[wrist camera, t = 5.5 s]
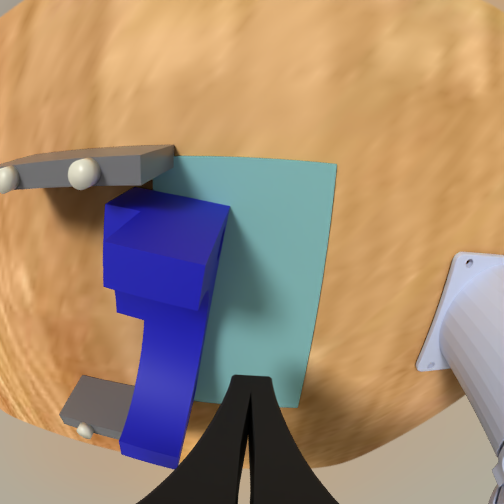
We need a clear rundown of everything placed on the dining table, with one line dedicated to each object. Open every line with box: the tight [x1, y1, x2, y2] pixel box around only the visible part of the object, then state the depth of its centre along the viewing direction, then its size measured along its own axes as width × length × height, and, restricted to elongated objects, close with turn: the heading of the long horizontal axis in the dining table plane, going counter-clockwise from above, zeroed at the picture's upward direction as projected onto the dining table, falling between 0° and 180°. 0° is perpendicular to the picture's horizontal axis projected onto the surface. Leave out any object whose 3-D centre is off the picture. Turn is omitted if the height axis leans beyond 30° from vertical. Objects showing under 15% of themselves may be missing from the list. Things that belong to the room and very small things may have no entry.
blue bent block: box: [103, 187, 230, 469], centre depth 13 cm, size 12×4×6 cm, turn 168°
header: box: [0, 145, 174, 439], centre depth 14 cm, size 8×16×5 cm, turn 178°
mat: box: [153, 156, 337, 408], centre depth 16 cm, size 8×15×1 cm, turn 178°
